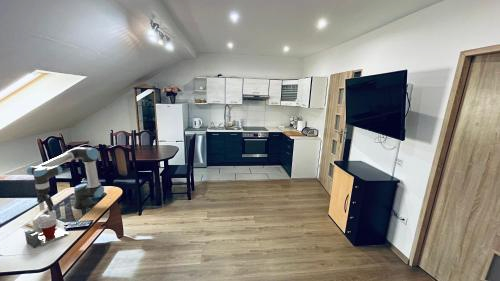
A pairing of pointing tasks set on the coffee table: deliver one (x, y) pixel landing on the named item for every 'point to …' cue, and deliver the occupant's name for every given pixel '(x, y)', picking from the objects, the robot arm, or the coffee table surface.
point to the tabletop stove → (42, 237)
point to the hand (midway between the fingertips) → (46, 212)
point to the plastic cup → (48, 228)
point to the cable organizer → (43, 219)
